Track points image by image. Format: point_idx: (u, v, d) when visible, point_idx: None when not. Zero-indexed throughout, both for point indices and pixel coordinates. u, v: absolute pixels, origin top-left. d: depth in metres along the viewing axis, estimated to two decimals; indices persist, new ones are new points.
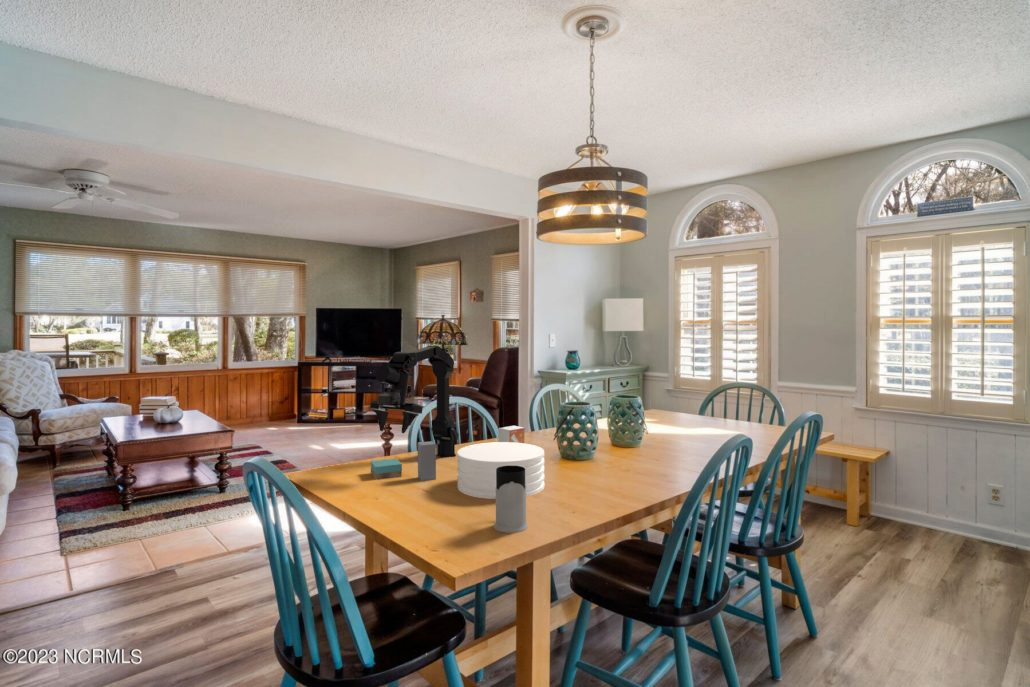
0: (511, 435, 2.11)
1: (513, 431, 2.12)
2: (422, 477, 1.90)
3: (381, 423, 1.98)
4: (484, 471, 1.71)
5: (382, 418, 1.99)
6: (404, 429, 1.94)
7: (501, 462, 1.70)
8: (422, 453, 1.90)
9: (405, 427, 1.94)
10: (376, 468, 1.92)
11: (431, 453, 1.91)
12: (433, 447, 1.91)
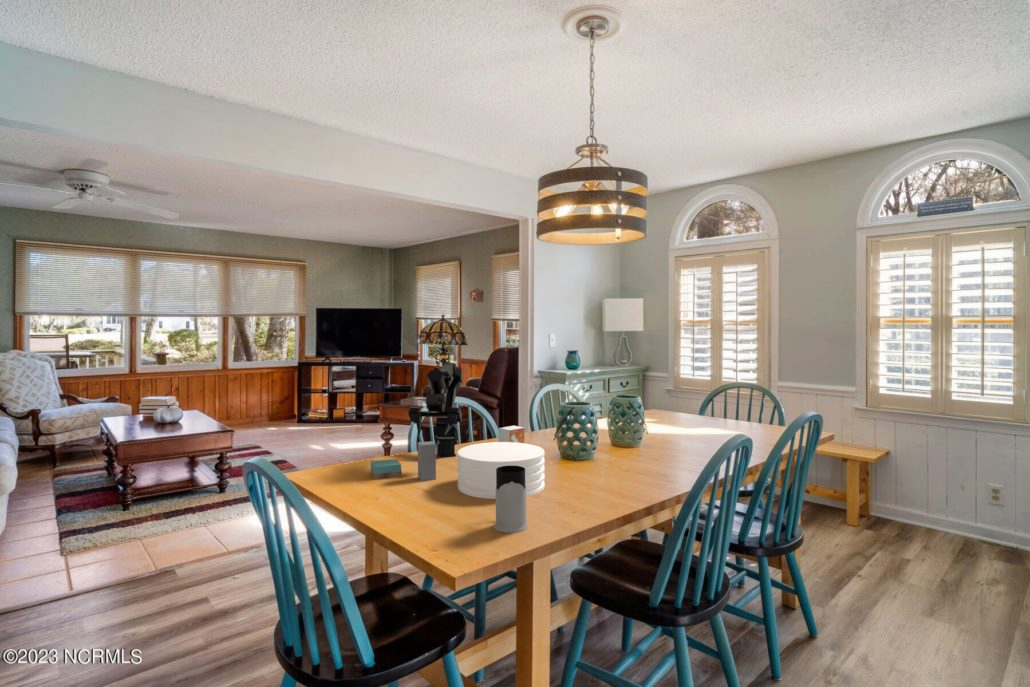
0: (511, 435, 2.11)
1: (513, 431, 2.12)
2: (422, 477, 1.90)
3: (419, 426, 2.02)
4: (484, 471, 1.71)
5: (420, 423, 2.04)
6: (446, 431, 2.01)
7: (501, 462, 1.70)
8: (422, 453, 1.90)
9: (447, 429, 2.01)
10: (375, 468, 1.92)
11: (431, 453, 1.91)
12: (433, 447, 1.91)
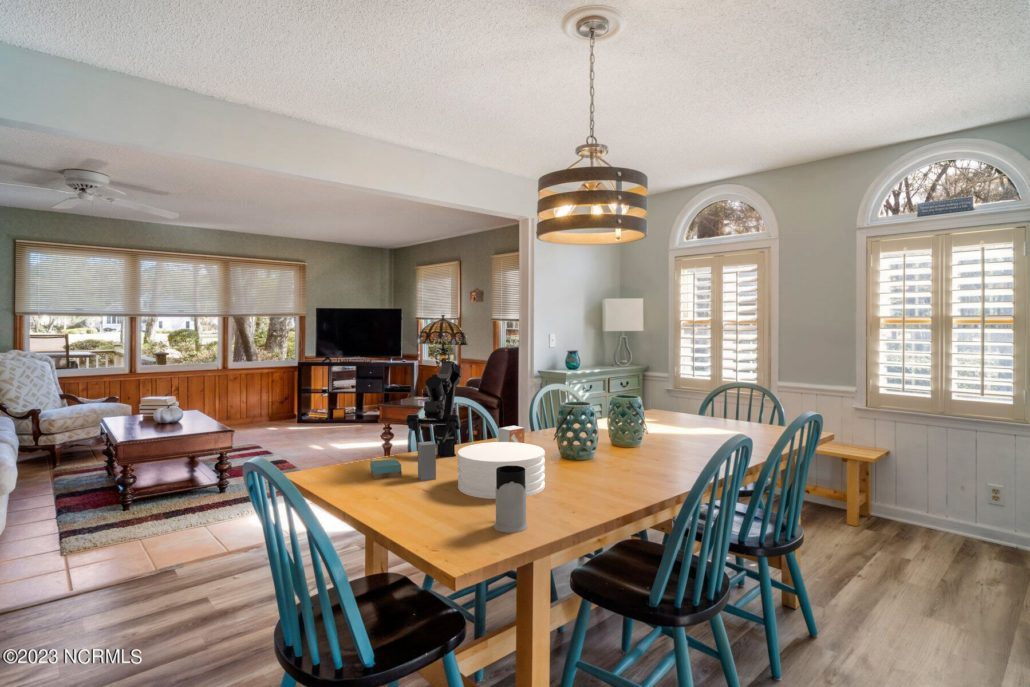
0: (511, 435, 2.11)
1: (513, 431, 2.12)
2: (422, 477, 1.90)
3: (417, 434, 1.99)
4: (485, 471, 1.71)
5: (418, 430, 2.01)
6: (444, 438, 1.98)
7: (501, 462, 1.70)
8: (422, 453, 1.90)
9: (445, 437, 1.99)
10: (375, 468, 1.92)
11: (431, 453, 1.91)
12: (433, 447, 1.91)
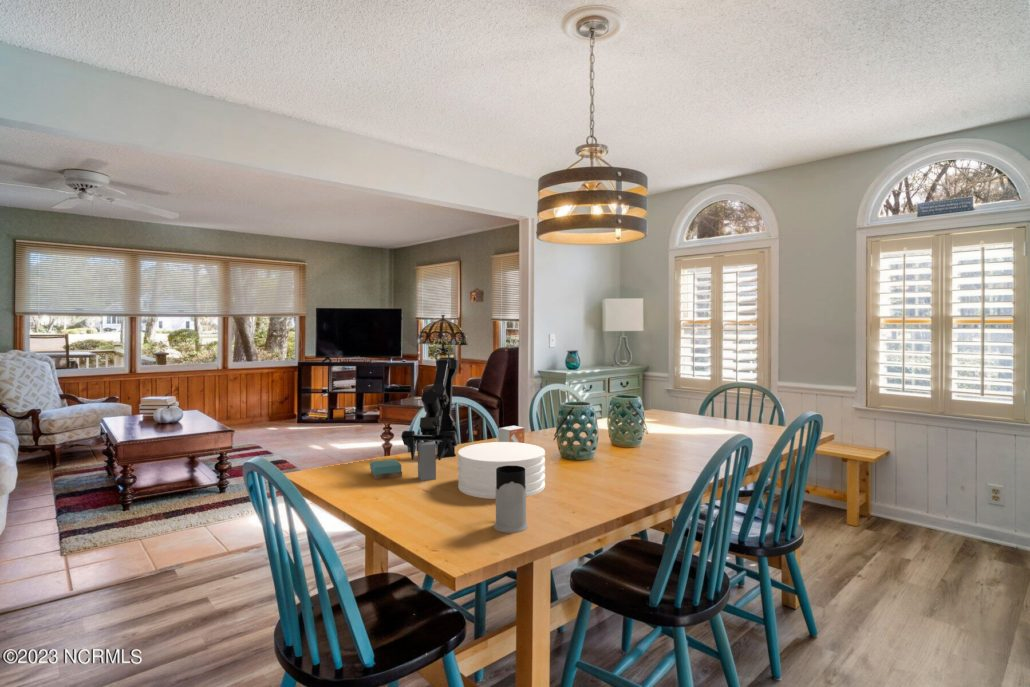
0: (511, 435, 2.11)
1: (513, 431, 2.12)
2: (422, 477, 1.90)
3: (413, 451, 1.94)
4: (485, 471, 1.71)
5: (413, 447, 1.95)
6: (441, 456, 1.92)
7: (502, 462, 1.70)
8: (422, 453, 1.90)
9: (442, 454, 1.93)
10: (376, 468, 1.92)
11: (431, 453, 1.91)
12: (433, 447, 1.91)
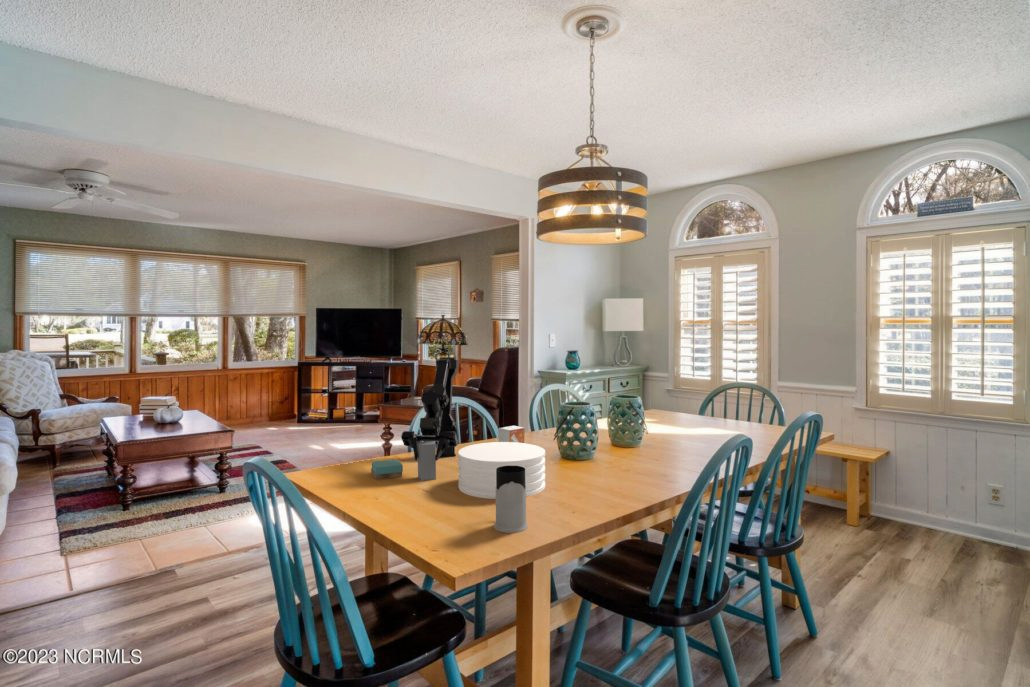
0: (511, 435, 2.11)
1: (513, 431, 2.12)
2: (422, 477, 1.90)
3: (416, 451, 1.93)
4: (485, 471, 1.71)
5: (417, 448, 1.95)
6: (438, 456, 1.92)
7: (502, 462, 1.70)
8: (422, 453, 1.90)
9: (439, 454, 1.93)
10: (377, 469, 1.92)
11: (431, 452, 1.91)
12: (433, 447, 1.91)
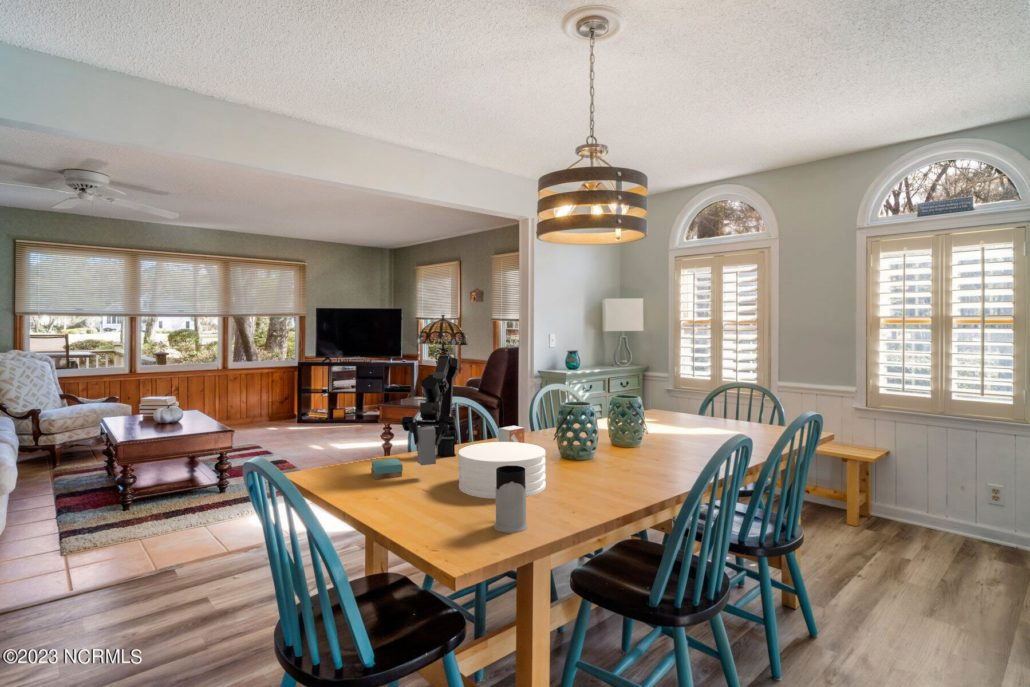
0: (511, 435, 2.11)
1: (513, 431, 2.12)
2: (422, 461, 1.90)
3: (416, 436, 1.93)
4: (485, 471, 1.71)
5: (416, 433, 1.95)
6: (437, 441, 1.92)
7: (502, 462, 1.70)
8: (422, 437, 1.90)
9: (438, 439, 1.93)
10: (377, 468, 1.92)
11: (431, 437, 1.91)
12: (433, 431, 1.91)
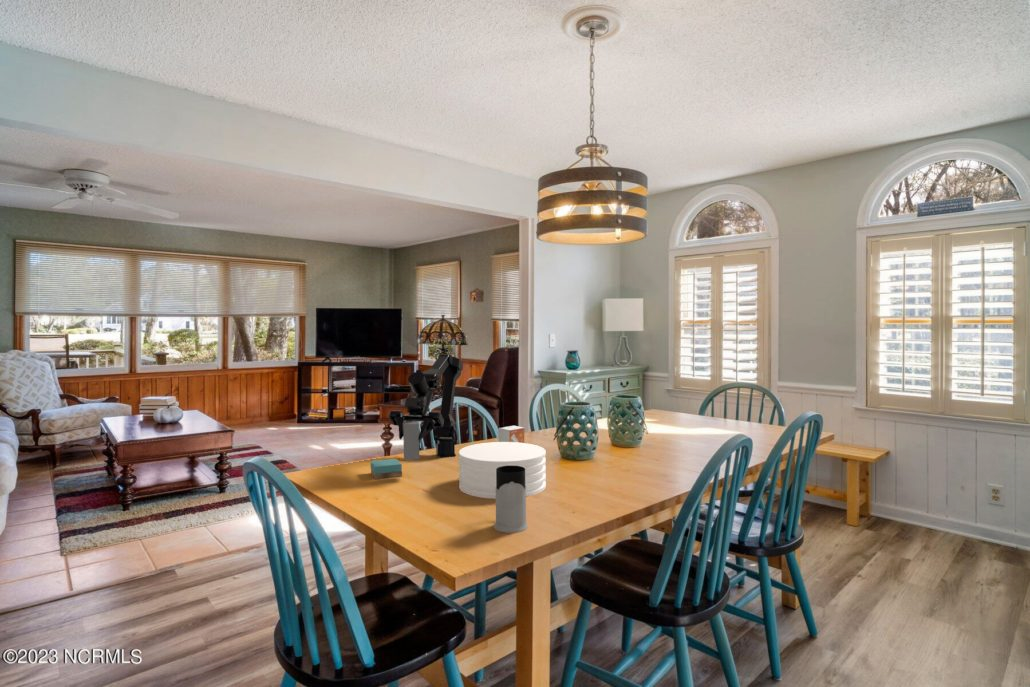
0: (511, 435, 2.11)
1: (513, 431, 2.12)
2: (405, 456, 1.91)
3: (401, 430, 1.95)
4: (486, 471, 1.71)
5: None
6: (421, 436, 1.92)
7: (503, 462, 1.70)
8: (405, 432, 1.91)
9: (422, 434, 1.93)
10: (376, 468, 1.92)
11: (414, 432, 1.92)
12: (416, 426, 1.92)
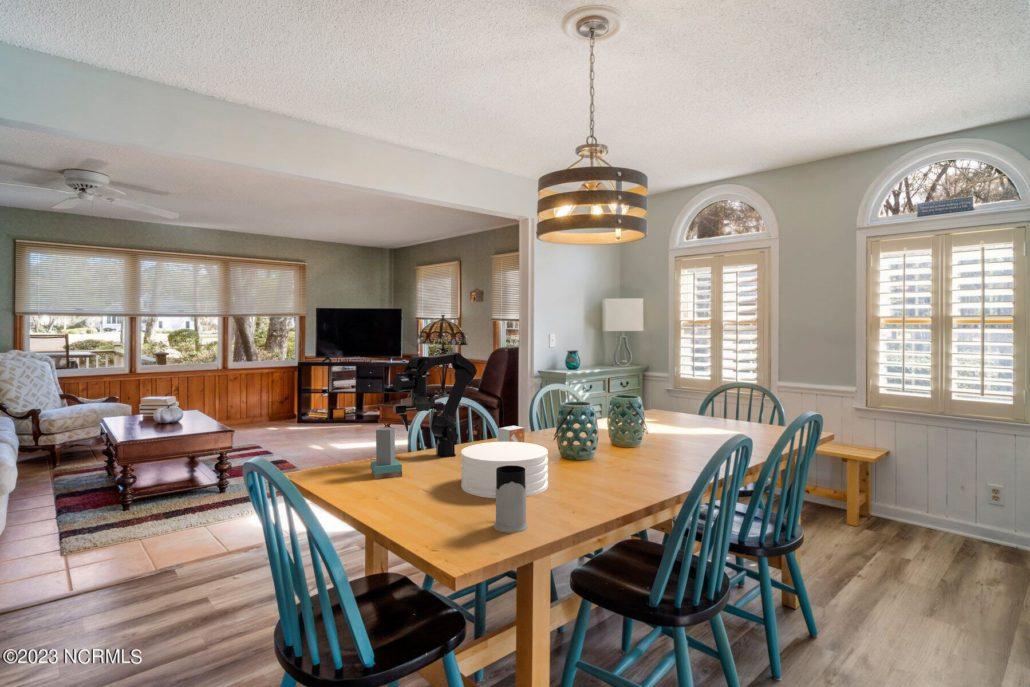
0: (511, 435, 2.11)
1: (513, 431, 2.12)
2: (377, 461, 1.96)
3: (407, 424, 2.14)
4: (488, 470, 1.72)
5: (406, 419, 2.14)
6: None
7: (505, 461, 1.71)
8: (377, 437, 1.96)
9: None
10: (376, 468, 1.92)
11: (386, 438, 1.95)
12: (388, 432, 1.95)
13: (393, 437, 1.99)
